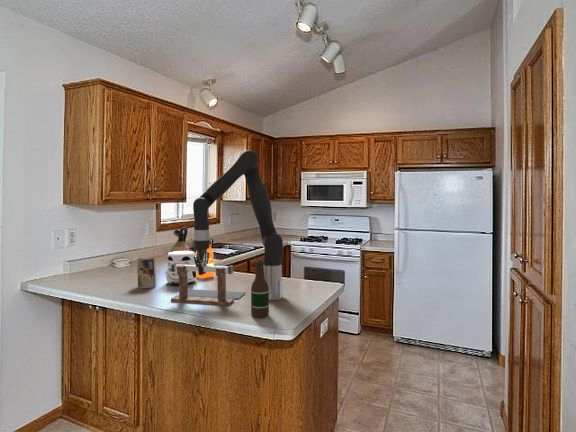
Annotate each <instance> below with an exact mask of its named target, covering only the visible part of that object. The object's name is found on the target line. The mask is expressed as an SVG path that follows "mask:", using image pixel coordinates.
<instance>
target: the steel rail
mask: <svg viewBox="0 0 576 432" xmlns="http://www.w3.org/2000/svg"><path fill="white" fill-rule="evenodd" d="M177 266H184V271H195V272H198V267H196V265H181V264H177V263H174V264H171V267H172V272H175V271H177ZM216 268H223V273H226V274H227V275H232V274H234V265H232V264H231V265H229V266H227V265H214V266H206V265H203V272H214V273H216Z"/></svg>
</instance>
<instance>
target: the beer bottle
mask: <svg viewBox="0 0 576 432" xmlns="http://www.w3.org/2000/svg"><path fill="white" fill-rule="evenodd" d="M250 312H251V313H250V315H251V316H252V318H253V319H265V318H268V317H269V315H270V313H269V312H270V300H269V287H268V284H267V282H266V280H265V277H264V261H263V260H261V259H259V260H256V261H255V278H254V280H253V282H252V284H251V287H250Z"/></svg>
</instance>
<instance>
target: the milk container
mask: <svg viewBox="0 0 576 432" xmlns="http://www.w3.org/2000/svg"><path fill="white" fill-rule="evenodd" d="M195 254H196V252H195V251H191V250H190V251H174V252H171V251H169V252H167V270H166V273H165V274H166V275H165V276H166V281H167V283H168V284H171V285H175V286H177V285H178V286H179V274H177V271H175V272H172V267H171V264H174V263H177V264H181V265H182V264H189V265H195V261H194V256H195ZM197 278H198V277H197V272H195V271H188V272H187V285H188V284H193V283H194V282H195V281H197Z"/></svg>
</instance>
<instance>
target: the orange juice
mask: <svg viewBox="0 0 576 432" xmlns="http://www.w3.org/2000/svg"><path fill="white" fill-rule="evenodd" d="M207 252H210V255H209V261H208V264H207V266H215V265H214V263H215V261H214V252H213V249H212V246H211V245H210V248H209V249H207ZM196 253H197V250H196V251H195V256H196V255H197V254H196ZM197 264H198V263H197ZM214 274H215V272H206V274H203V275H198V272H197V277H196V278H198V279H207V278H210V277H211V278H212V277H214Z"/></svg>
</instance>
